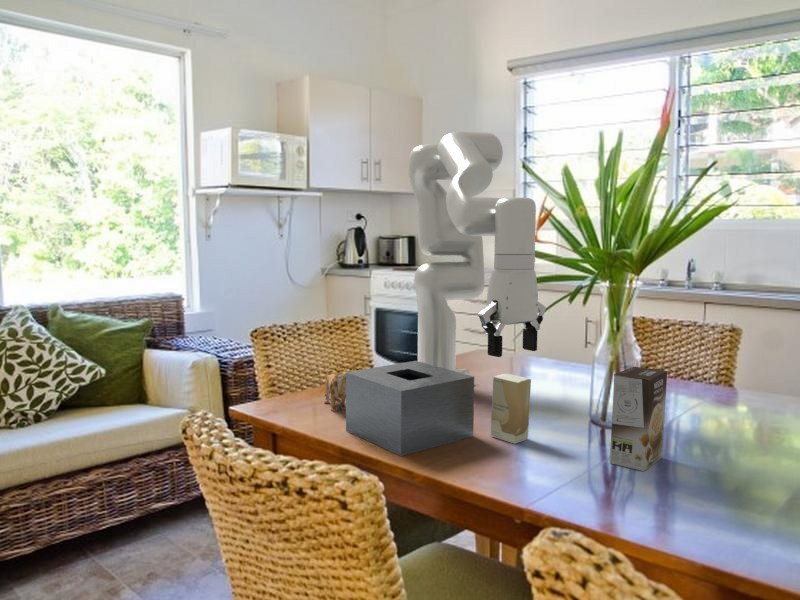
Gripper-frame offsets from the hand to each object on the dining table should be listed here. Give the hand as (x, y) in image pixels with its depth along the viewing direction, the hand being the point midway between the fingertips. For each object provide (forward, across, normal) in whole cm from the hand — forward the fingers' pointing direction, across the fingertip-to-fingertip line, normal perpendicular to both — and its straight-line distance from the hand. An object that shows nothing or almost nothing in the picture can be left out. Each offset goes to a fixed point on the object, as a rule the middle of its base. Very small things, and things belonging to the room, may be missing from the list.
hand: (512, 352), depth 129 cm
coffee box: (+17, -9, +22) cm, 29 cm away
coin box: (+17, +14, -14) cm, 26 cm away
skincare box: (+17, 0, 0) cm, 17 cm away
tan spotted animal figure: (+17, +14, -39) cm, 45 cm away
